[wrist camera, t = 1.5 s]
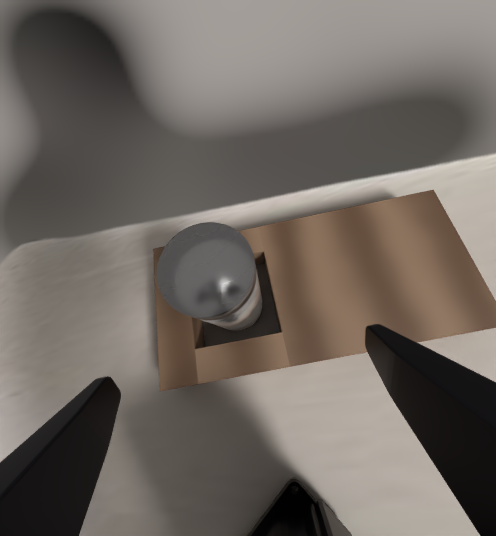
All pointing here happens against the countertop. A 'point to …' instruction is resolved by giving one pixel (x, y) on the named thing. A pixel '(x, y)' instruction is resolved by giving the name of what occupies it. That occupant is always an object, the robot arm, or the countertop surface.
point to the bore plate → (339, 290)
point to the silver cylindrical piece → (211, 276)
